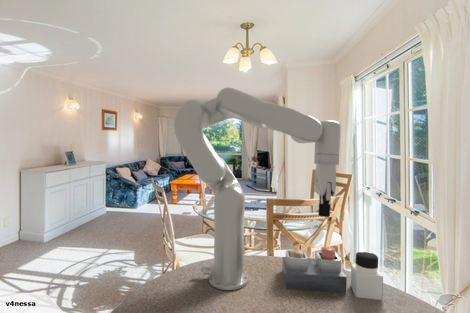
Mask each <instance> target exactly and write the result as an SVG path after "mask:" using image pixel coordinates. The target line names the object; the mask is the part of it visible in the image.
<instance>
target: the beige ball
mask: <svg viewBox="0 0 470 313" xmlns="http://www.w3.org/2000/svg"><path fill="white" fill-rule="evenodd" d="M290 250H291V251H290V257H298V258H303V252H302V251H303V250H299V249H290Z"/></svg>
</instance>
